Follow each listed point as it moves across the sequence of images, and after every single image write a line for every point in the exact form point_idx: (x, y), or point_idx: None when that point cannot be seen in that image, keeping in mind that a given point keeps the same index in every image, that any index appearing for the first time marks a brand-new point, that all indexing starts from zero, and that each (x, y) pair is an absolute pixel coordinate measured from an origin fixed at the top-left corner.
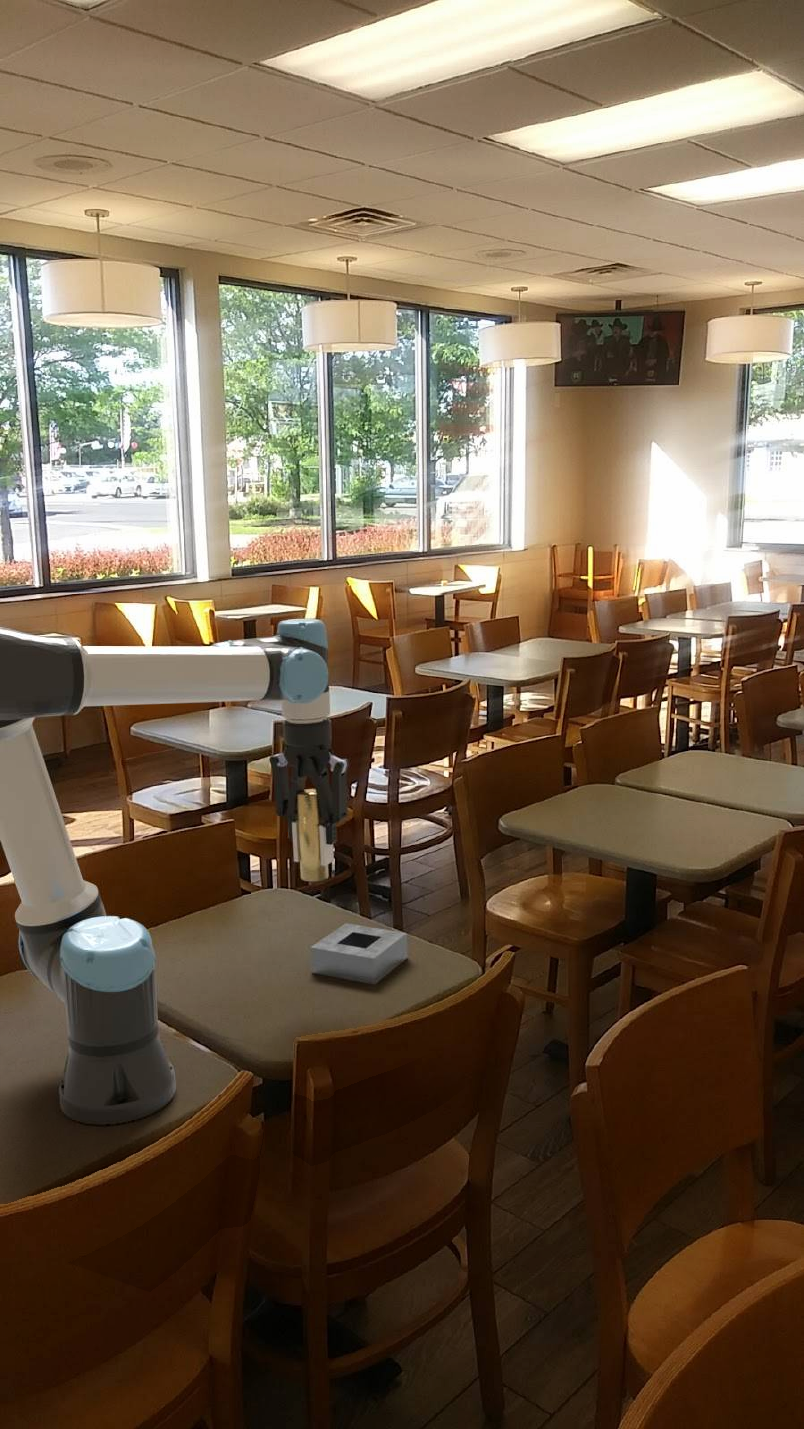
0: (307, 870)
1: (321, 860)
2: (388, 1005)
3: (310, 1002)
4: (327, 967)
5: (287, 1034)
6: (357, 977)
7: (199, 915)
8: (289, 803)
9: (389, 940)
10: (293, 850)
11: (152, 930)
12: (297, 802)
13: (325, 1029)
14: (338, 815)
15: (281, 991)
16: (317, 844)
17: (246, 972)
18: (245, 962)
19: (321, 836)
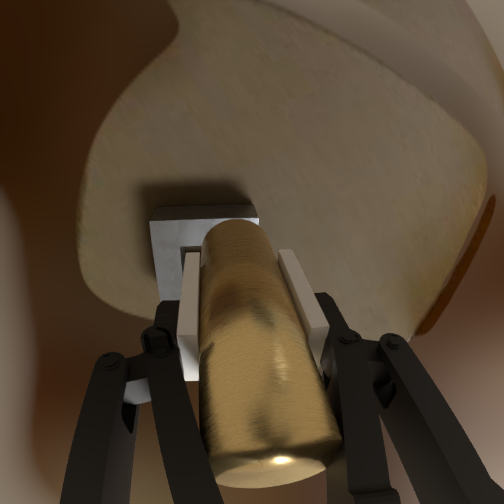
0: (237, 231)
1: (197, 259)
2: (110, 165)
3: (206, 126)
4: (228, 208)
5: (185, 37)
6: (180, 207)
7: (436, 286)
8: (365, 386)
9: (166, 281)
10: (299, 266)
11: (464, 238)
12: (321, 399)
13: (146, 70)
14: (95, 376)
15: (263, 140)
16: (208, 286)
17: (336, 175)
18: (351, 201)
19: (189, 306)
